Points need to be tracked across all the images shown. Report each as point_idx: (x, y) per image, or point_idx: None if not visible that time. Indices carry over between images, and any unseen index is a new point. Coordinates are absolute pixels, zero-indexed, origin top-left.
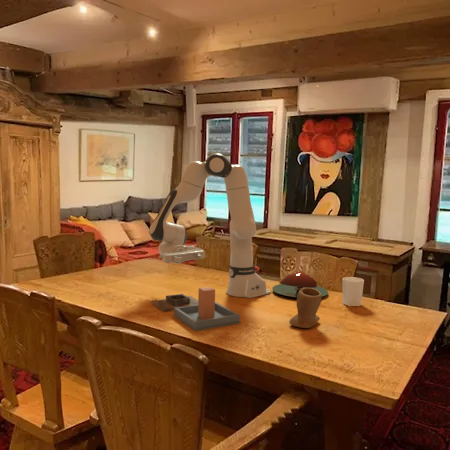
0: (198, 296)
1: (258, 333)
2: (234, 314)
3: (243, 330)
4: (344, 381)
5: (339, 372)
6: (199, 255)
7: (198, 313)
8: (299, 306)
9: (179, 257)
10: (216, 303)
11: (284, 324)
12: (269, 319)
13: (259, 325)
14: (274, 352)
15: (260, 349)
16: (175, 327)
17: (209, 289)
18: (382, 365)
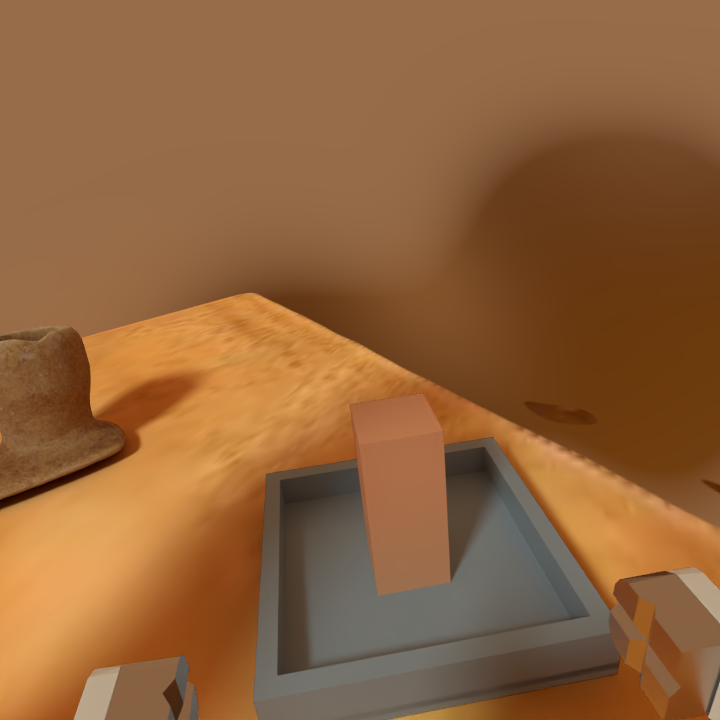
0: (445, 480)
1: (271, 432)
2: (280, 489)
3: (303, 453)
4: (273, 308)
5: (255, 319)
6: (138, 668)
7: (448, 565)
8: (88, 375)
9: (716, 619)
10: (272, 659)
11: (119, 475)
12: (116, 524)
13: (213, 480)
14: (311, 361)
15: (334, 371)
16: (585, 509)
17: (382, 407)
18: (164, 328)
